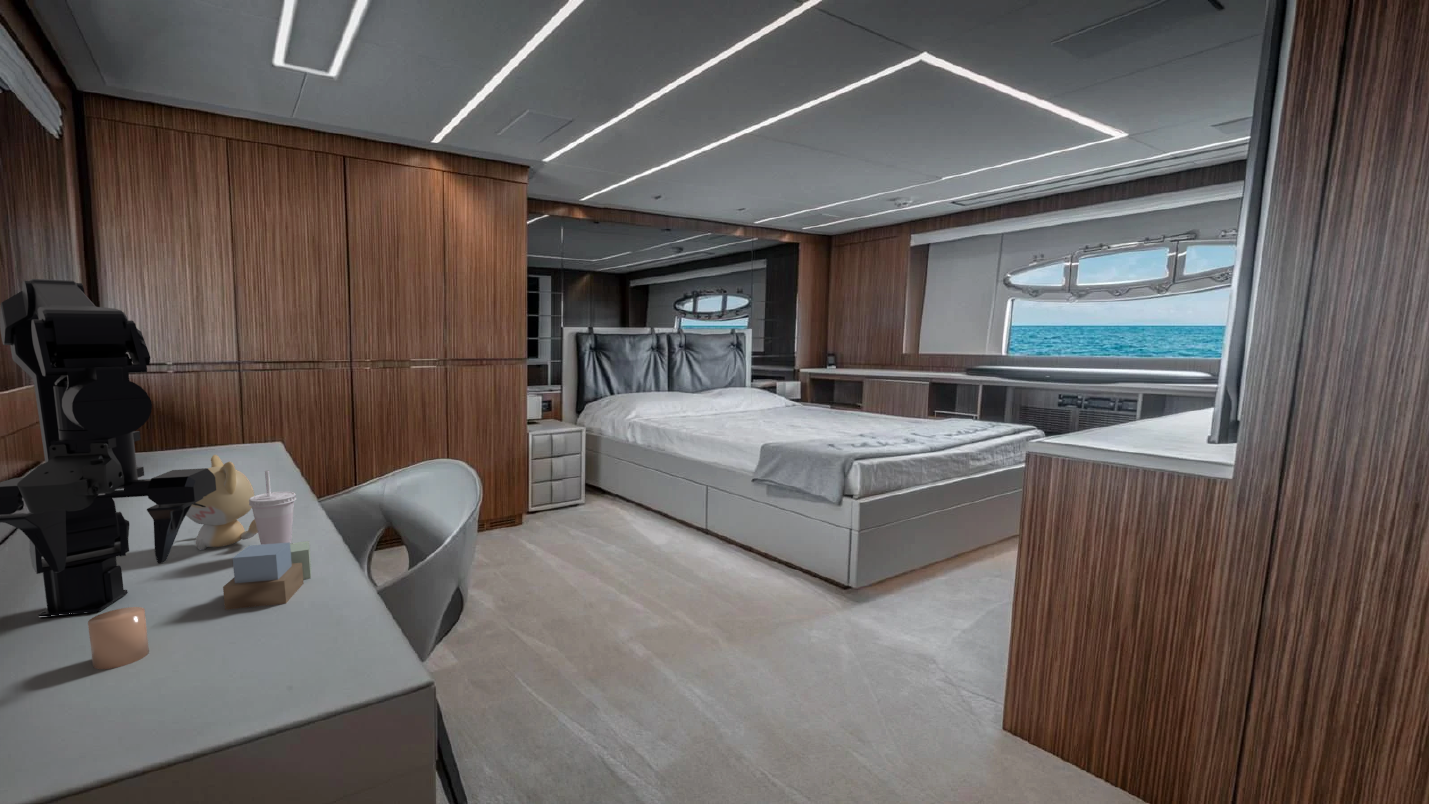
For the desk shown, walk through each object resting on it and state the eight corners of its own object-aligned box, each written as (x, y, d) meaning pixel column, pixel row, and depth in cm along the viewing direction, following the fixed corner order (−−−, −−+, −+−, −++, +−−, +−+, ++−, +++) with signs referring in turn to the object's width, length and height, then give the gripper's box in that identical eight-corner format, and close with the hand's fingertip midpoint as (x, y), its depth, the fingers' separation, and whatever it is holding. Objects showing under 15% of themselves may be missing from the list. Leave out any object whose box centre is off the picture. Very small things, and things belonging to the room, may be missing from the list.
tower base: (225, 612, 83) (222, 586, 83) (247, 591, 90) (245, 567, 90) (286, 605, 85) (284, 580, 85) (303, 585, 92) (301, 562, 92)
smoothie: (244, 557, 103) (236, 472, 101) (283, 544, 109) (277, 464, 107) (270, 562, 100) (263, 475, 99) (309, 549, 106) (303, 467, 105)
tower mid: (234, 583, 84) (232, 557, 84) (251, 569, 89) (249, 545, 88) (278, 579, 85) (276, 554, 85) (291, 566, 90) (289, 542, 90)
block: (273, 585, 92) (271, 555, 91) (276, 575, 95) (273, 546, 95) (310, 578, 94) (308, 549, 93) (311, 569, 98) (309, 540, 97)
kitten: (174, 542, 110) (165, 457, 108) (243, 528, 118) (237, 449, 116) (194, 562, 100) (185, 469, 99) (269, 546, 108) (262, 459, 106)
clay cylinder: (82, 672, 68) (77, 627, 68) (109, 651, 72) (104, 609, 72) (134, 665, 69) (129, 622, 69) (157, 646, 74) (153, 604, 73)
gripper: (-87, 444, 58) (-64, 607, 60) (159, 434, 63) (174, 585, 65) (8, 426, 68) (25, 565, 70) (212, 419, 74) (224, 549, 75)
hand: (111, 566), depth 70 cm, fingers open, 9 cm apart
